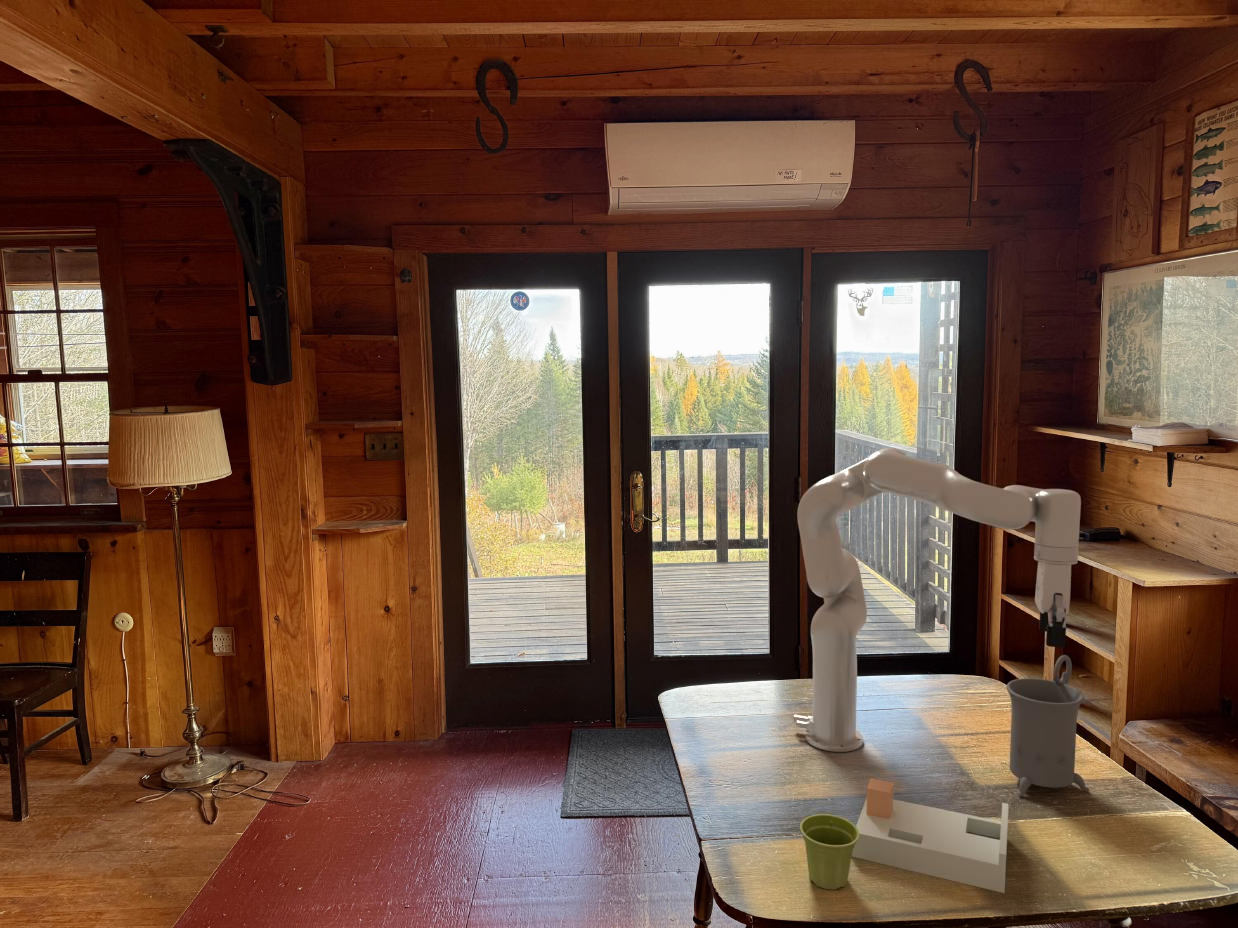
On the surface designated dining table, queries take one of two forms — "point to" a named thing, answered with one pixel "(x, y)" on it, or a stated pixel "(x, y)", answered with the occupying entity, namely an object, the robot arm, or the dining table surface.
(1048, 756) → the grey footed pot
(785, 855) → the dining table surface
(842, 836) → the plant pot
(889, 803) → the block
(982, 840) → the tray
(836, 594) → the robot arm
